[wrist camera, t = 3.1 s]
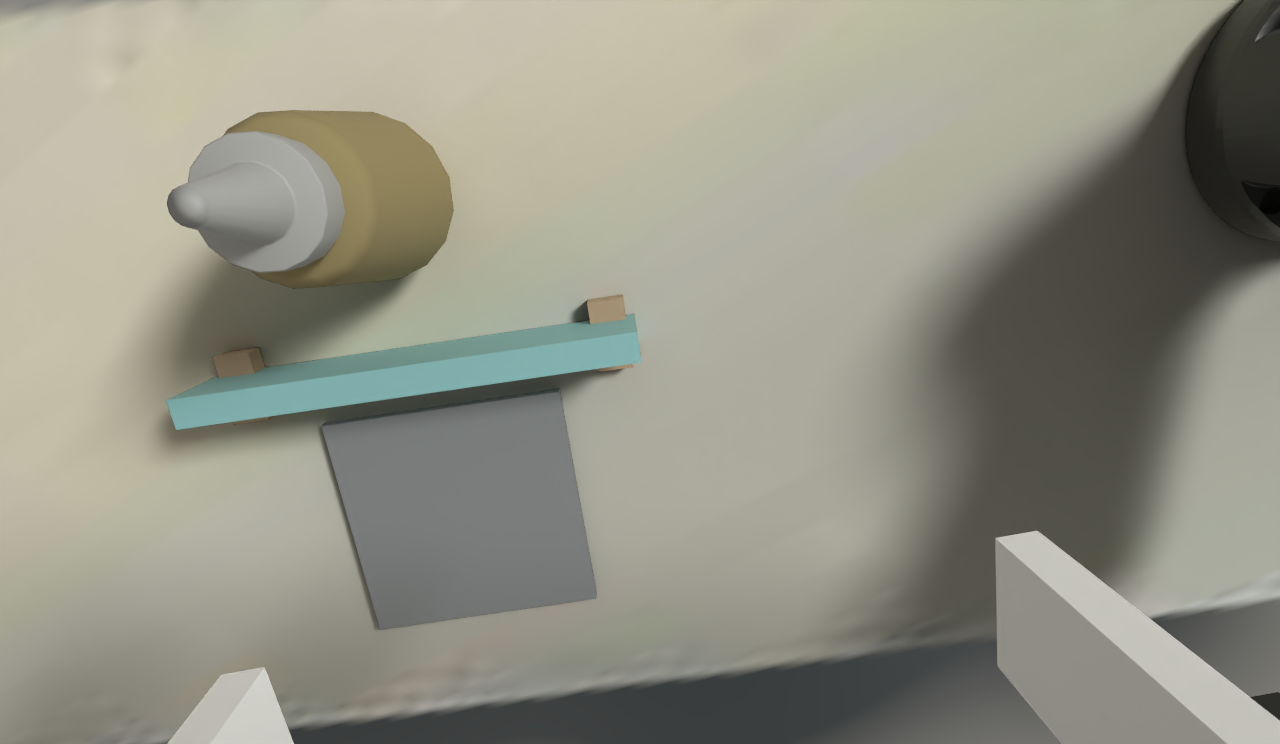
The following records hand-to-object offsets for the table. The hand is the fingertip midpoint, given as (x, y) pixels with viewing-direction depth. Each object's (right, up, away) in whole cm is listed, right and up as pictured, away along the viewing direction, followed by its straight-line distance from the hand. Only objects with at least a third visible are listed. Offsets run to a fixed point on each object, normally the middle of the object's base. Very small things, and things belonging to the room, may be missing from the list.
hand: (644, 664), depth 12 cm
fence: (-12, +6, +26) cm, 30 cm away
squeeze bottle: (-13, +15, +24) cm, 31 cm away
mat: (-11, -3, +29) cm, 31 cm away
